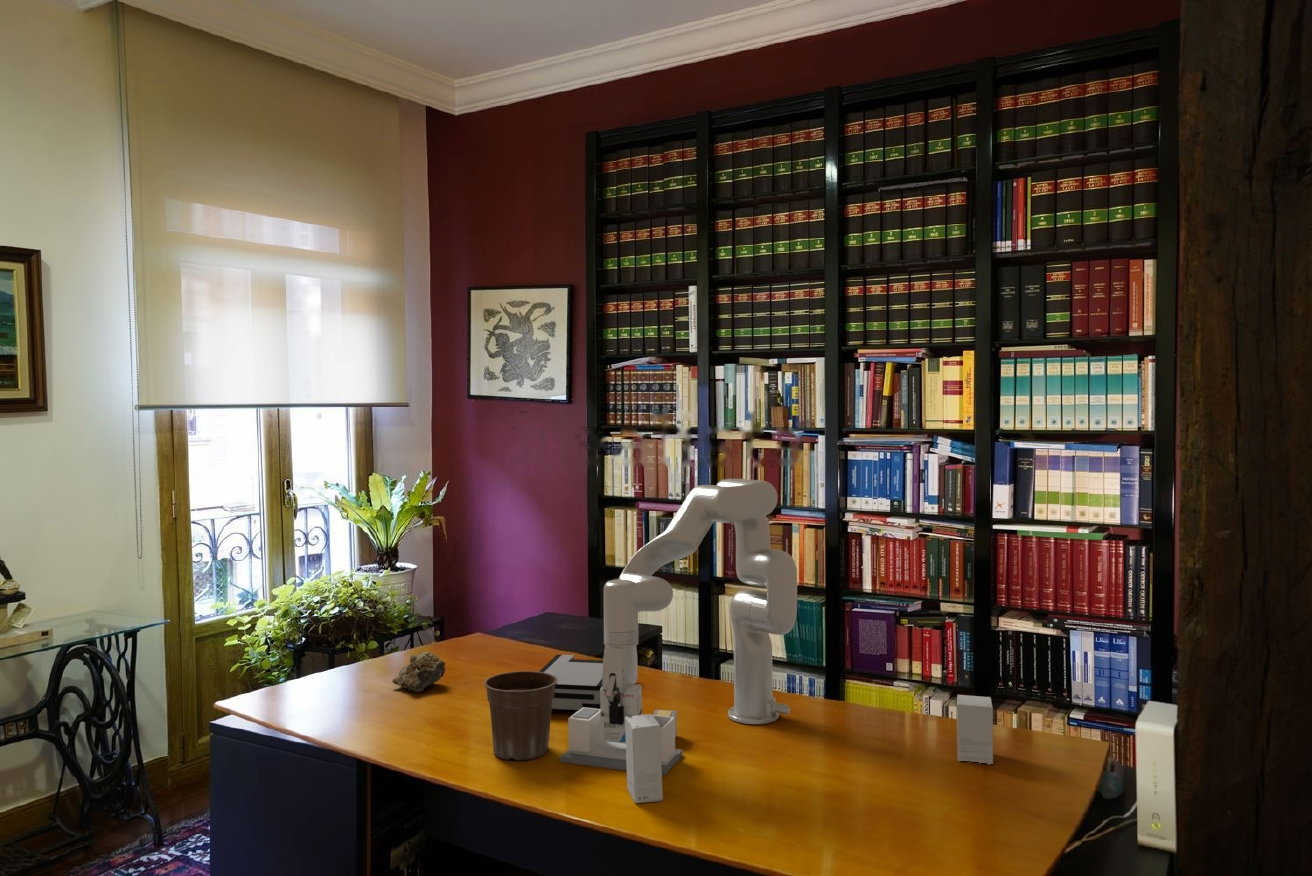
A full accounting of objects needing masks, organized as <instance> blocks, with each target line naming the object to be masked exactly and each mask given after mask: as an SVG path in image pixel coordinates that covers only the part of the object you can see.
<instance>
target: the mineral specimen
mask: <svg viewBox="0 0 1312 876" xmlns="http://www.w3.org/2000/svg"><path fill="white" fill-rule="evenodd" d="M445 672H446V662H445V661H444V660H442V659H440V657H438V654H434V653H432V652H430V651H425V652H420V653H416V654H413V655H411V656H410V657H409V663H408V664H407V665H406V666H403V668H402V669H401V670H399V672H398V676H395V677H394V678H393V679H392V681H391V682H392V683H394V684H395V685H397V686H398V685H399V686H401V687H402V688H405V689H407V691H411V692H414V693H416V692H418V693H419V692H423V691H424V690H425V689H426V687H428V686H431V685H433V684H435V683H436V682H439V681H440V680H441V678H442V677H444V675H445Z"/></svg>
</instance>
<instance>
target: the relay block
mask: <svg viewBox="0 0 1312 876" xmlns="http://www.w3.org/2000/svg"><path fill="white" fill-rule="evenodd" d="M653 715H658V716H668V717H675V738H677V736H678V735H677V734H678V733H677V730H678V725H677V723H678V721H677V716H678V715H677V710H673V709H671V710H670V709H654V712H653V714H652V716H653Z"/></svg>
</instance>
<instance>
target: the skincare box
mask: <svg viewBox="0 0 1312 876" xmlns="http://www.w3.org/2000/svg"><path fill="white" fill-rule="evenodd" d="M652 715H653V714H652V713H648V714H647V713H646V714H642V715H637V716H629V717H625V736H626V742H625V743H626V764H627V771H626V783H627V786H626V788H627V790H628V793H629V795H630V796H631V798H632V800H633V802H634V803H635V804H641V803H652V802H656V803H657V802H663V800H664V793H663V776H662V766H661V743H660V725H659V723H658V722H657V721H656V719H655V718H654V717H653V716H652Z"/></svg>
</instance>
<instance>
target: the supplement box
mask: <svg viewBox="0 0 1312 876" xmlns="http://www.w3.org/2000/svg"><path fill="white" fill-rule="evenodd" d="M956 698H957V699H956V730H957V732H956V734H957V735H956V739H957V740H956V741H957V742H956V743H957V746H956V747H957V748H956V749H957V761H958V762H960V761H971V762H979V763H978V764H981V763H987V764H986V765H991V764H994V740H993V739H994V738H993V737H994V733H993V731H994V729H993V728H994V724H993V722H994V721H993V720H994V719H993V718H994V717H993V716H994V713H993V712H994V710H993V709H994V707H993V703H992V698H991V696H979V695H978V696H977V695H966V694H957V697H956ZM971 762H970V763H971Z"/></svg>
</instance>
